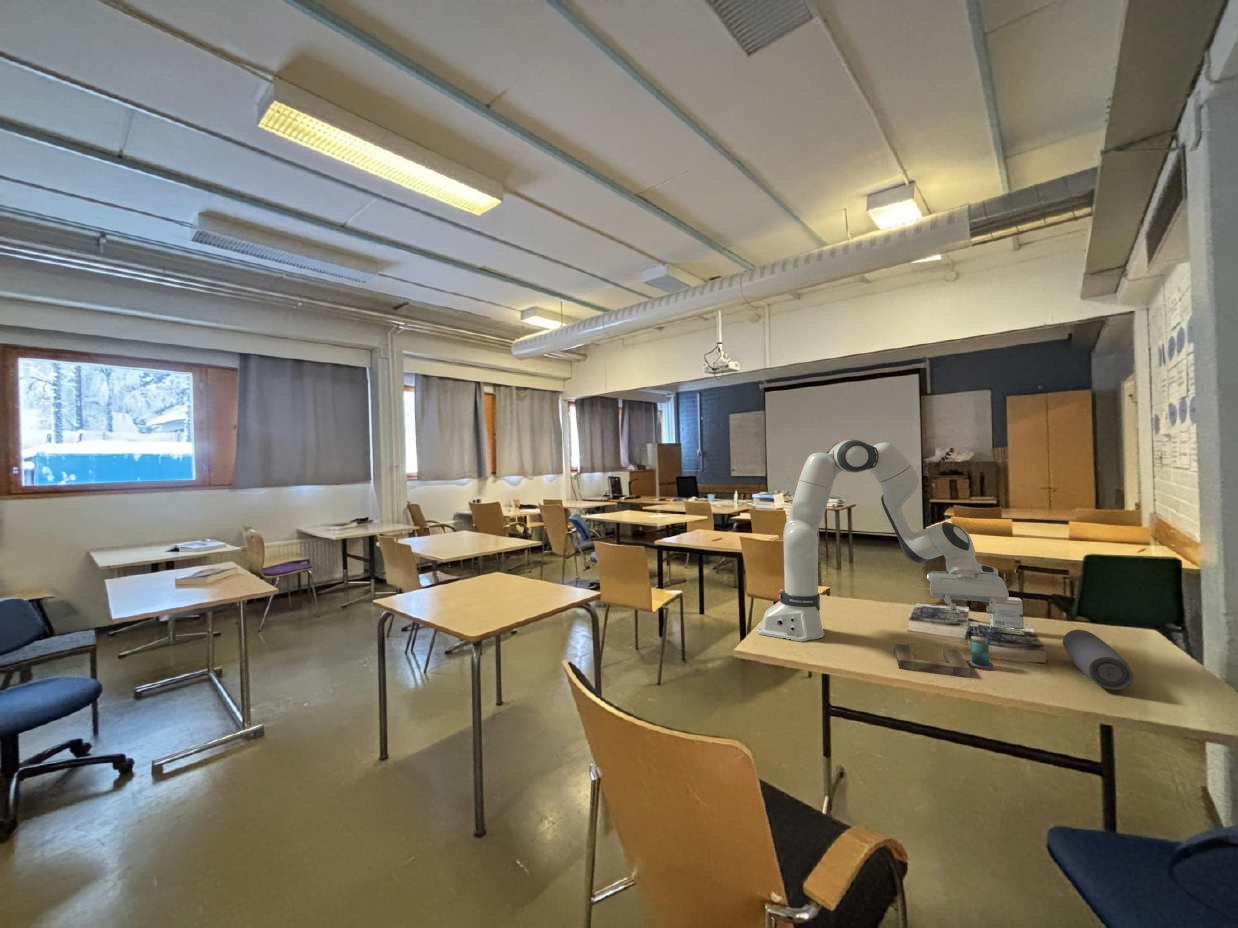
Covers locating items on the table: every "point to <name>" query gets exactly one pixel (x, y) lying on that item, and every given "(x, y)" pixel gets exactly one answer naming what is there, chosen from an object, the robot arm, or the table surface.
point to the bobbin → (980, 653)
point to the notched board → (951, 667)
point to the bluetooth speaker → (1097, 660)
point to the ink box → (1008, 614)
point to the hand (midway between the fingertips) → (971, 611)
